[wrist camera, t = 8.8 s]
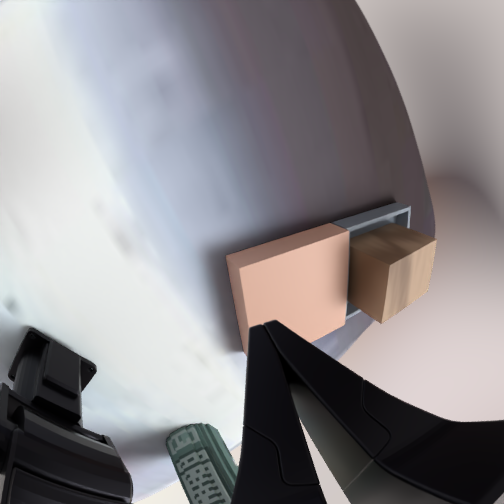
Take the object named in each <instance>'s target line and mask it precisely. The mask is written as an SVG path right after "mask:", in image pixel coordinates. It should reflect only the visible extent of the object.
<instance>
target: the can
mask: <svg viewBox="0 0 504 504" xmlns="http://www.w3.org/2000/svg"><path fill="white" fill-rule="evenodd" d="M166 442H167V443H166V446H167V449H168V451H169V454H170V457H171V459H172V462H173V465H174V467H175V470H176V472H177V475H178V477H179V480H180V482H181V484H182V487H183V489H184V491H185V494H186V496H187V498H188V500H189V503H190V504H230V503H231V498H232V494H233V490H234V486H235V481H236V477H237V472H238V466H237V464H236V463H235V461H234V459H233V457H232V455H231V454H230V452H229V450H228V448H227V446H226V445H225V443H224V441H223V439H222V437H221V435H220V434H219V432H218V430H217V429H216V428H214V427H213V426H211V425H209V424H207V425H204V424H202V423H201V424H199V425H198V424H195V425H192V424H191V425H189V426H188V427H184V426H183V427H182V428H180V429H178V430H176V431H175V432H173V433H171V434H170V437H169V438H167V441H166Z"/></svg>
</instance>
